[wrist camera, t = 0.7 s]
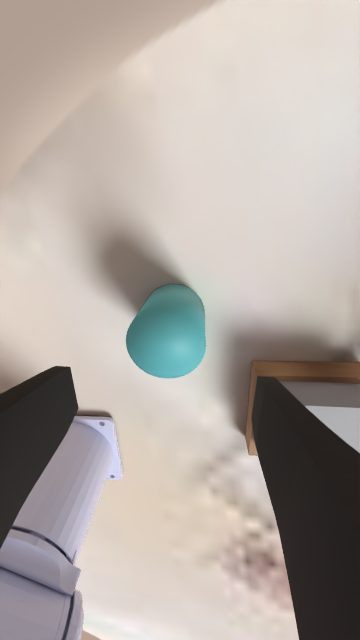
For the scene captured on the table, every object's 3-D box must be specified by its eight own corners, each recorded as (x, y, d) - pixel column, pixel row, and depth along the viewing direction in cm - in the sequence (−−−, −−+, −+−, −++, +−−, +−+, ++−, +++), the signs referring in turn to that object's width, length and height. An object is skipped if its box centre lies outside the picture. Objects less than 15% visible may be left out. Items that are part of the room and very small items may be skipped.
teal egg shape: (147, 339, 19) (130, 377, 15) (142, 284, 18) (121, 307, 13) (204, 340, 19) (205, 379, 14) (204, 283, 17) (205, 306, 13)
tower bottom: (244, 431, 23) (248, 455, 21) (250, 357, 20) (257, 375, 18) (334, 435, 22) (349, 460, 20) (355, 358, 19) (376, 377, 17)
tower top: (258, 446, 20) (265, 475, 18) (268, 380, 18) (277, 404, 15) (341, 450, 20) (359, 481, 17) (363, 383, 17) (388, 409, 15)
